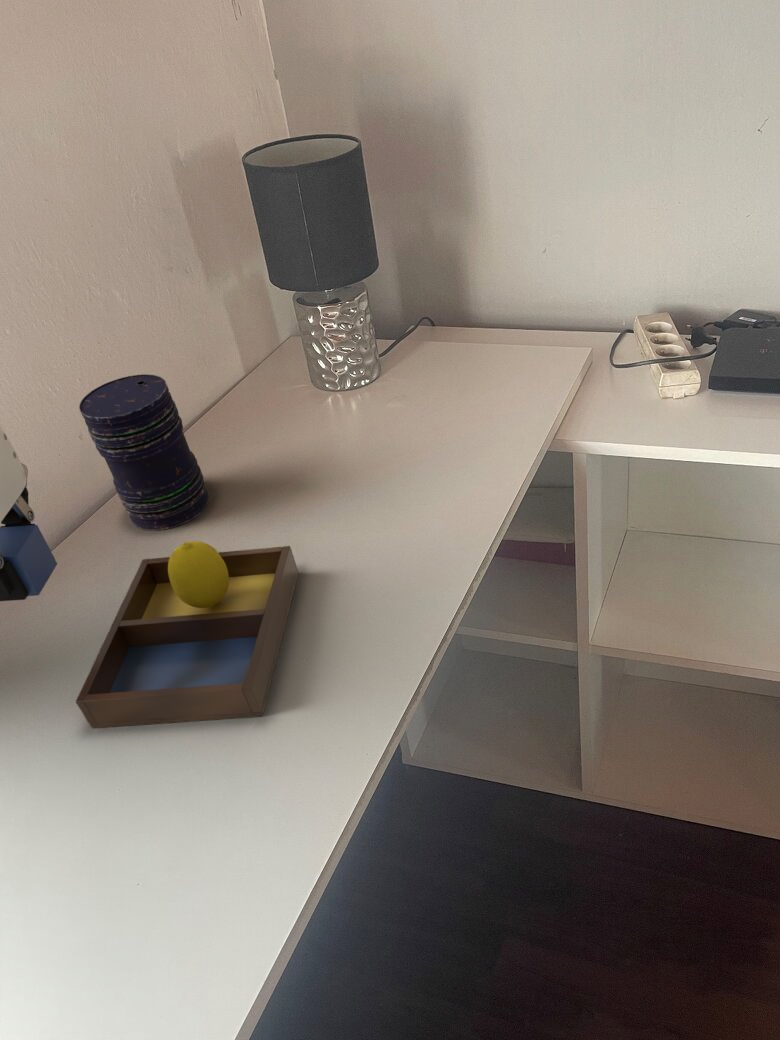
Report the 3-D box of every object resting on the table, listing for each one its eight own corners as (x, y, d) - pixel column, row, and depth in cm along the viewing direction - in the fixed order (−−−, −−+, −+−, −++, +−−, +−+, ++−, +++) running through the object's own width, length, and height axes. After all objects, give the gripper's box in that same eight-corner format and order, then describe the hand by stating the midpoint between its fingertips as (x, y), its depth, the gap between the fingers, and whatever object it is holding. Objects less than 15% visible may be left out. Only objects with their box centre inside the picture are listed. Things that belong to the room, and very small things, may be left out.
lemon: (175, 608, 88) (146, 546, 83) (221, 580, 91) (196, 519, 86) (201, 632, 85) (173, 569, 80) (248, 603, 87) (224, 540, 82)
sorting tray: (91, 728, 78) (75, 701, 76) (154, 585, 93) (142, 559, 91) (262, 716, 76) (251, 688, 74) (298, 572, 91) (290, 545, 89)
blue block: (-9, 598, 77) (-33, 559, 74) (11, 567, 80) (-11, 528, 77) (38, 595, 77) (16, 555, 74) (57, 563, 80) (37, 524, 77)
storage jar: (174, 537, 99) (124, 423, 90) (112, 523, 104) (58, 412, 94) (226, 489, 106) (185, 378, 96) (166, 478, 110) (121, 370, 100)
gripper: (-72, 353, 73) (22, 526, 85) (-188, 460, 60) (-59, 647, 72) (12, 345, 72) (94, 521, 84) (-88, 451, 60) (25, 641, 72)
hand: (22, 577), depth 78 cm, fingers closed on blue block, 4 cm apart
